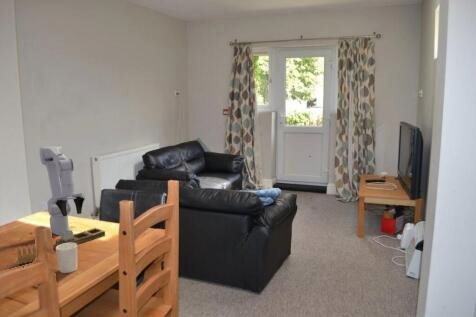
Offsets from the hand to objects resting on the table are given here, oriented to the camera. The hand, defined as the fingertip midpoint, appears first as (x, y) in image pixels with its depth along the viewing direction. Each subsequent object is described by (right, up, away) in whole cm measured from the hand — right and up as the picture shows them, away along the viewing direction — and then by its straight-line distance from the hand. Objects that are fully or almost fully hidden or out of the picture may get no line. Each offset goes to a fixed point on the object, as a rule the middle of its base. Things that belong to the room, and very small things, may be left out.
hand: (72, 214), depth 185 cm
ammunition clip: (-5, -20, -24) cm, 32 cm away
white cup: (+7, -19, -21) cm, 30 cm away
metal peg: (-4, -14, +5) cm, 16 cm away
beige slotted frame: (0, -13, +10) cm, 17 cm away
